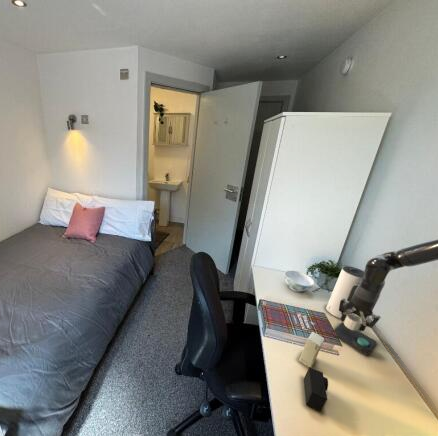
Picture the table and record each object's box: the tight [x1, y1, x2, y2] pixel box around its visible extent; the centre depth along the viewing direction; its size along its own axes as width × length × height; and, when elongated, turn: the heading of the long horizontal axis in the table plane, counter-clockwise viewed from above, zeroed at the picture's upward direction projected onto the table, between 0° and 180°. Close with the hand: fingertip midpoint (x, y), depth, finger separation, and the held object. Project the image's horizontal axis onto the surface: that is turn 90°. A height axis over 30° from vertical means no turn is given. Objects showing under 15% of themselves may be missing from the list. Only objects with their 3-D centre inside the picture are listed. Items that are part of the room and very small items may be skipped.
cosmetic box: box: [298, 331, 325, 368], centre depth 92 cm, size 6×4×12 cm
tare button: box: [357, 338, 369, 347], centre depth 100 cm, size 4×4×2 cm
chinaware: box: [284, 270, 315, 293], centre depth 138 cm, size 15×15×8 cm
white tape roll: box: [344, 313, 363, 332], centre depth 106 cm, size 6×6×5 cm
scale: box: [333, 321, 377, 357], centre depth 105 cm, size 13×13×3 cm
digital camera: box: [303, 367, 329, 413], centre depth 80 cm, size 10×5×7 cm, turn 151°
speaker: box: [325, 265, 364, 320], centre depth 117 cm, size 11×10×26 cm
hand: (351, 325), depth 106 cm, fingers closed on white tape roll, 6 cm apart
